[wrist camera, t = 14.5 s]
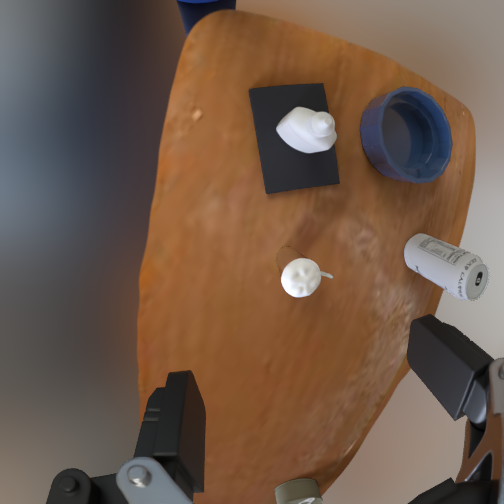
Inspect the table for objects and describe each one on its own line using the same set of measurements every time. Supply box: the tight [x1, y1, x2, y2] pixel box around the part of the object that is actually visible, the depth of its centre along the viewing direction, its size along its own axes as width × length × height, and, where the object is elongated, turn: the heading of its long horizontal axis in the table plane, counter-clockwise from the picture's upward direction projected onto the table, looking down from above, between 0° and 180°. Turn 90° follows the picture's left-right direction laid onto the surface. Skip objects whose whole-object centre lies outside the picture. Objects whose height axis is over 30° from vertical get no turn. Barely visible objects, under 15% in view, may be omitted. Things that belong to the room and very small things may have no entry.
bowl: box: [360, 87, 453, 183], centre depth 34 cm, size 13×13×6 cm
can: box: [275, 478, 323, 504], centre depth 55 cm, size 12×12×7 cm
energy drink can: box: [404, 233, 489, 301], centre depth 35 cm, size 6×6×15 cm
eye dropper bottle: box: [276, 107, 337, 153], centre depth 29 cm, size 4×6×12 cm
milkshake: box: [276, 246, 333, 297], centre depth 35 cm, size 5×5×10 cm
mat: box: [249, 83, 340, 194], centre depth 35 cm, size 14×10×1 cm
